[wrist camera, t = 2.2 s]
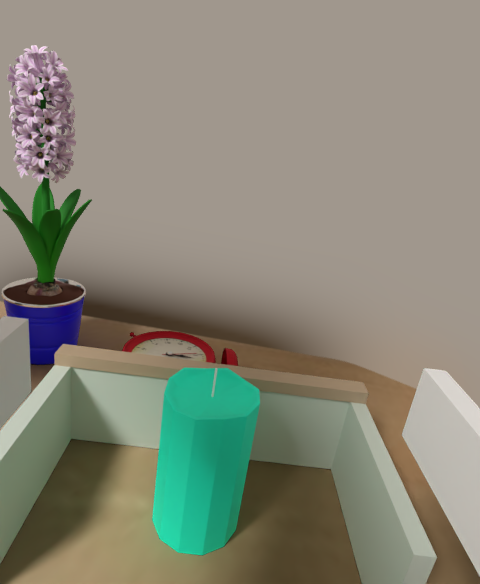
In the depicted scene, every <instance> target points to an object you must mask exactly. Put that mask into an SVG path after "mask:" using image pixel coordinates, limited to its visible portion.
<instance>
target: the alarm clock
mask: <svg viewBox="0 0 480 584" xmlns="http://www.w3.org/2000/svg"><path fill="white" fill-rule="evenodd" d="M130 336H131V337H132V336H133V337H134V338H132V339H130V340H129V341H128V342H127V343H126V344H125V345H124V347H123V350H122V351H123V352H131V353H139V354H147V355H155V356H162V357H170V358H178V359H186V360H194V361H202V362H209V363H216V360H215V355H214V351H213V349H212V348H211V347H210V346H209V345H208V344H207V343H206V342H204V341H203V340H201V339H199V338H197V337H194V336H192V335H188V334H185V333H180V332H172V331H156V332H149V333H144V334H141V335H138V336H135V335H134V333H133V332H131V333H130ZM221 364H225V365H233V366H238V361H237V356H236V354H235V352H234V351H233V350H232V349H228V348H225V349H224V351H223V355H222V361H221Z"/></svg>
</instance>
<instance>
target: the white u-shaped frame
mask: <svg viewBox="0 0 480 584" xmlns="http://www.w3.org/2000/svg"><path fill="white" fill-rule="evenodd" d="M54 359H55V365H54V366H53V368H52V369H51V370H50V371H49V372H48V374H47V375H46V376H45V377H44V379H43V380H42V381H41V382H40V383H39V385H38V386H37V387H36V388H35V389H34V391H33V392H32V393H31V394H30V396H29V397H28V398H27V399H26V400H25V402H24V403H23V404H22V405H21V406H20V408H19V409H18V410H17V411H16V413H15V414H14V415H13V416H12V417H11V419H10V420H9V421H8V422H7V423H6V425H5V426H4V427H3V428H2V430H1V431H0V564H1V562H2V560H3V558H4V557H5V555H6V553H7V551H8V550H9V548H10V546H11V544H12V542H13V541H14V539H15V537H16V535H17V534H18V532H19V530H20V528H21V527H22V525H23V523H24V521H25V520H26V518H27V516H28V514H29V512H30V511H31V509H32V507H33V505H34V504H35V502H36V500H37V498H38V497H39V495H40V493H41V491H42V490H43V488H44V486H45V484H46V482H47V481H48V479H49V477H50V475H51V474H52V472H53V470H54V468H55V467H56V465H57V463H58V461H59V459H60V458H61V456H62V454H63V452H64V451H65V449H66V447H67V445H68V444H69V442H70V440H71V439H77V440H86V441H94V442H103V443H111V444H120V445H128V446H137V447H145V448H154V449H159V443H160V433H161V422H162V411H163V401H164V392H165V389H166V386H167V383H168V379H169V378H170V377H171V376H173V375H174V374H176V373H177V372H178V371H180V370H181V369H183V368H184V367H185V368H229V369H230V370H231V371H233V372H234V373H236V374H237V375H239V376H240V377H242V378H243V379H244V380H246V381H247V382H249V383H250V384H252V385H253V386H255V387H256V388H258V389H259V393H260V406H259V412H258V417H257V422H256V427H255V433H254V438H253V443H252V448H251V454H250V459H249V460H256V461H265V462H273V463H282V464H290V465H299V466H307V467H316V468H324V469H331V471H332V475H333V479H334V482H335V486H336V490H337V493H338V497H339V501H340V504H341V508H342V512H343V516H344V519H345V523H346V527H347V530H348V534H349V538H350V542H351V545H352V549H353V553H354V556H355V560H356V564H357V568H358V571H359V575H360V579H361V582H362V584H426V582H427V579H428V577H429V575H430V573H431V570H432V568H433V566H434V563H435V561H436V559H437V556H436V554H435V552H434V550H433V548H432V545H431V543H430V541H429V539H428V537H427V535H426V533H425V530H424V528H423V526H422V524H421V522H420V520H419V518H418V515H417V513H416V511H415V509H414V507H413V505H412V503H411V500H410V498H409V496H408V494H407V492H406V490H405V487H404V485H403V483H402V481H401V479H400V477H399V475H398V472H397V470H396V468H395V466H394V464H393V462H392V460H391V457H390V455H389V453H388V451H387V449H386V447H385V445H384V442H383V440H382V438H381V436H380V434H379V432H378V430H377V427H376V425H375V423H374V421H373V419H372V417H371V414H370V412H369V410H368V408H367V406H366V401H367V398H368V395H369V393H368V391H367V389H366V387H365V385H364V383H363V382H358V381H350V380H342V379H334V378H327V377H319V376H311V375H303V374H295V373H287V372H280V371H272V370H264V369H256V368H248V367H241V366H233V365H225V364H217V363H209V362H202V361H194V360H186V359H178V358H170V357H162V356H155V355H147V354H139V353H131V352H123V351H116V350H108V349H100V348H92V347H84V346H77V345H69V344H62V345H61V347H60V348H59V349H58V350H57V351H56V352H55V354H54Z"/></svg>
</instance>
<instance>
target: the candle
mask: <svg viewBox="0 0 480 584" xmlns="http://www.w3.org/2000/svg"><path fill="white" fill-rule="evenodd" d="M259 406H260V393H259V389H258V388H256V387H255V386H253V385H252V384H250V383H249V382H247V381H246V380H244V379H243V378H242V377H240V376H239V375H237V374H236V373H234V372H233V371H231V370H230V369H229V368H185V367H184V368H183V369H181V370H180V371H178V372H177V373H176V374H174V375H173V376H171V377H170V378H169V379H168V383H167V386H166V389H165V392H164V401H163V411H162V422H161V433H160V443H159V454H158V464H157V475H156V486H155V496H154V507H153V518H152V520H153V523H154V526H155V528H156V531H157V533H158V536H159V539H160V540H162V541H163V542H164V543H166V544H167V545H169V546H170V547H171V548H173V549H174V550H175V551H177V552H178V553H187V554H195V555H204V554H207V553H209V552H212V551H214V550H217V549H219V548H222V547H224V546H225V544H226V543H227V541H228V540H229V539H230V537H231V536H232V535H233V533H234V532H235V531H236V527H237V522H238V516H239V511H240V506H241V501H242V495H243V490H244V485H245V480H246V474H247V469H248V464H249V459H250V454H251V448H252V443H253V438H254V433H255V427H256V422H257V417H258V412H259Z"/></svg>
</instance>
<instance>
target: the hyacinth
mask: <svg viewBox="0 0 480 584" xmlns="http://www.w3.org/2000/svg"><path fill="white" fill-rule="evenodd" d="M31 48H32V51H31V50H30V49H27V48H26V49H24V50H25V52H24V55H25V57H24V55H23V56H22V55H21V56H20V57H17V58H16V59H15V61H18V62H20V63H18V64H16V65H14V66H13V69H14V70H13V69H12V67H11V65H10V66H9V71H10V72H11V73H12V74H9V75H7V77H8V79H7V80H8V81H10V82H12V84H11V87H12V89H13V86H14V85H16V86H19V87H18V88H16V89H15V94H16V96H17V97H18V98H15V99H14V98H13V96H11V95H10V102H11V103H12V104H13V106H11V109H10V110H11V112H10V115H9V117H10V116H11V114H12V113H13V112H16V115H17V117H18V118H15V121H14V119H13V115H12V117H11V121H12V124H13V126H12V129H13V131H12V136H14V135H15V139H16V141H17V142H19V143H16V147H17V150H18V151H16V150H15V158H14V162H16V163H17V164H21V165H18V166H17V170H18V172H20V171H21V172H20V177H21V178H22V177H23V174H24V173H25V174H26V175H29V174H28V173H27V170H28V169H30V170H32V171H36V172H34V173H33V175H32V178H37V177H38V182H39V183H41V185H40V186H39V187H38V189H37V191H36V194H35V197H34V202H33V210H32V222H33V223H31V222H29V221H28V219H27V218H26V216H25V215H24V213H23V212H22V211H21V209H20V208H19V207H18V205H17V204H16V203H15V202H14V201H13V199H12V198H11V197H10V196H9V195H8V194H7V193H6V192H5V191H4V190H3V189H2V188H1V187H0V199H1V201H2V202H3V204H4V205H5V206H6V208H7V209H8V210H4V209H3V211H4V212H5V213H6V214H7V215H8V216H9V217H10V218H11V220H12V221H13V222H14V223H15V225H16V226H17V227H18V229H19V231H20V233H21V234H22V236H23V238H24V241H25V242H26V245H27V247H28V249H29V251H30V253H31V254H32V256H33V258H34V260H35V262H36V264H37V270H38V278H28V279H23V280H18V281H15V282H12V283H10V284H8V285H7V286H5V287H4V288H3V289H2V293H1V295H2V297H3V299H4V304H5V308H6V312H7V316H9V317H17V318H25V319H28V320H29V345H30V364H37V365H45V364H53V363H55V359H54V354H55V352H56V351H57V350H58V349H59V348H60V347H61V345H62V344H69V345H77V342H78V335H79V329H80V322H81V315H82V308H83V301H84V296H85V294H86V290H85V288H84V287H83V286H82V285H81V284H79V283H77V282H75V281H72V280H68V279H63V278H54V274H55V269H56V265H57V262H58V259H59V256H60V254H61V252H62V249H63V247H64V244H65V242H66V240H67V237H68V235H69V233H70V231H71V229H72V227H73V226H74V224H75V222H76V221H77V220H78V218H79V217H80V215H81V214H82V213H83V211H84V210H85V209H86V207H87V206H88V205H89V203H90V202H91V201H92V200H89V201H87V202H86V203H85V204H84V205H82V207H80V208H79V209H78V210H77V211H76V212H75V213H74V214H73V216H72V217H71V215H72V213H73V211H74V209H75V206H76V204H77V202H78V199H79V196H80V192H81V190H80V189H77V190H75V191H73V192H72V193H71V194H70V195H69V196H68V197H67V199H66V200H65V201H64V203H63V204H62V206H61V208H60V210H58V209H55V206H54V199H53V195H52V192H51V190H50V188H49V178H50V176H49V171H50V170H51V171H52V172H53V173H54V174H55V177H54V178H53V179H52V180H53V181H54V180H55V179H56V181H55V182H56V183H57V182H58V181H59V177H60V178H62V179H64V178H65V177H66V176H65V175H64V174H68V173H69V171H70V169H71V168H70V166H73V161H72V160H71V159H72V156H73V151H72V152H66V150H68V149H69V151H71V146H70V145H73V146H75V145H76V141H75V140H74V139H71V138H73V137H74V135H75V129H74V127H73V126H72V125H73V122H74V120H73V118H75V111H74V110H73V111H70V113H69V114H68V109H69V107H70V106H69V105H70V103H71V99H73V98H74V97H73V96H74V95H73V93H72V92H70V91H69V90H70V89H71V84H70V82H69V81H68V80H67V79H65V78H67V76H66V74H65V73H62V70H61V69H63V70H66V71H68V69H67V68H65V67H63V66H62V65H64V64H63V63H62V61H61V59H60V58H58V56H57V54H56V52H54V51H53V50H52V52H51V51H50V52H47V51H43V50H44V49H45V48H48V47H47V46H44V47H41V48H40V49H39V50H38V47H37V46H36V45H34V46H31ZM42 55H43V57H42ZM47 55H48V57H47ZM42 59H43V60H45V62H46V65H45V66H44V64H43V61H42ZM60 66H61V67H60ZM16 68H17V69H19V70H17V71H16ZM56 70H58V71H59V73H58V72H57V71H56ZM21 73H24V74H23V75H22V76H21V75H20V74H21ZM28 73H29V75H28ZM61 73H62V74H61ZM35 77H37V83H36V81H35ZM63 81H65V83H62V82H63ZM66 81H67V82H68V85H67V82H66ZM61 83H62V84H61ZM10 91H11V90H10ZM10 91H9V94H10ZM27 96H29V100H28V99H27ZM61 97H63V98H61ZM69 98H71V99H69ZM46 102H47V104H49V105H52V106H54V107H56V109H52V108H49V109H48V108H46ZM38 103H39V104H38ZM68 104H69V105H68ZM63 110H65V111H63ZM32 119H33V121H32ZM68 124H70V125H71V127H70V126H69V125H68ZM53 125H54V126H53ZM55 126H56V127H58V129H62V133H61V134H62V135H59V133H57V131H56V128H55ZM72 127H73V129H74V131H73V132H72V133H71V129H72ZM64 128H65V129H67V135H63V134H64V133H65V129H64ZM39 129H40V130H39ZM20 133H21V134H20ZM69 133H70V134H69ZM17 134H18V135H19V136H16V135H17ZM68 134H69V135H68ZM40 137H41V138H40ZM49 149H51V150H50V151H49ZM17 157H19V158H21V159H19V160H18V159H17ZM49 161H51V162H53V163H49ZM55 164H58V166H59V168H58V167H57V166H56V165H55ZM63 165H64V166H65V170H63V169H64V167H63ZM67 168H68V169H67ZM66 170H69V171H66Z"/></svg>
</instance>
